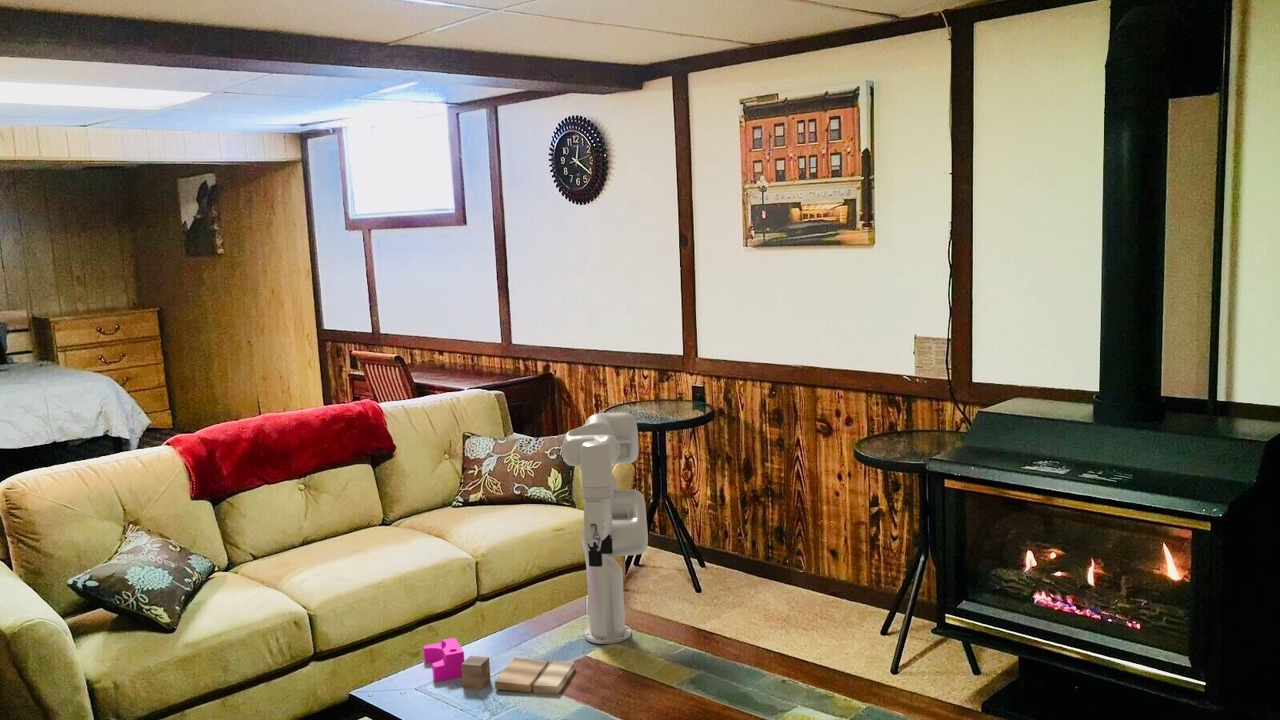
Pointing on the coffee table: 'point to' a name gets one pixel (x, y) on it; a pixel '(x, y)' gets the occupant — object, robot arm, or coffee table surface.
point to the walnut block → (476, 672)
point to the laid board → (553, 677)
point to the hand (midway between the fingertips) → (601, 559)
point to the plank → (521, 675)
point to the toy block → (445, 659)
